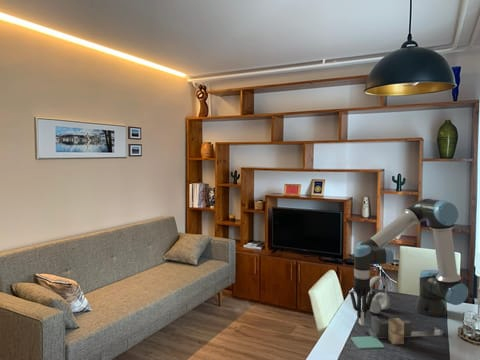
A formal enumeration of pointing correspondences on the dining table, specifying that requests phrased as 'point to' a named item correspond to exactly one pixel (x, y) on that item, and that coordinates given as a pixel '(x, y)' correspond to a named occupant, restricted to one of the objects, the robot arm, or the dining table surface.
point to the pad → (367, 342)
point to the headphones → (379, 297)
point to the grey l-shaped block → (382, 326)
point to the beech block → (396, 331)
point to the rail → (413, 333)
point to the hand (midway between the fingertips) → (361, 323)
